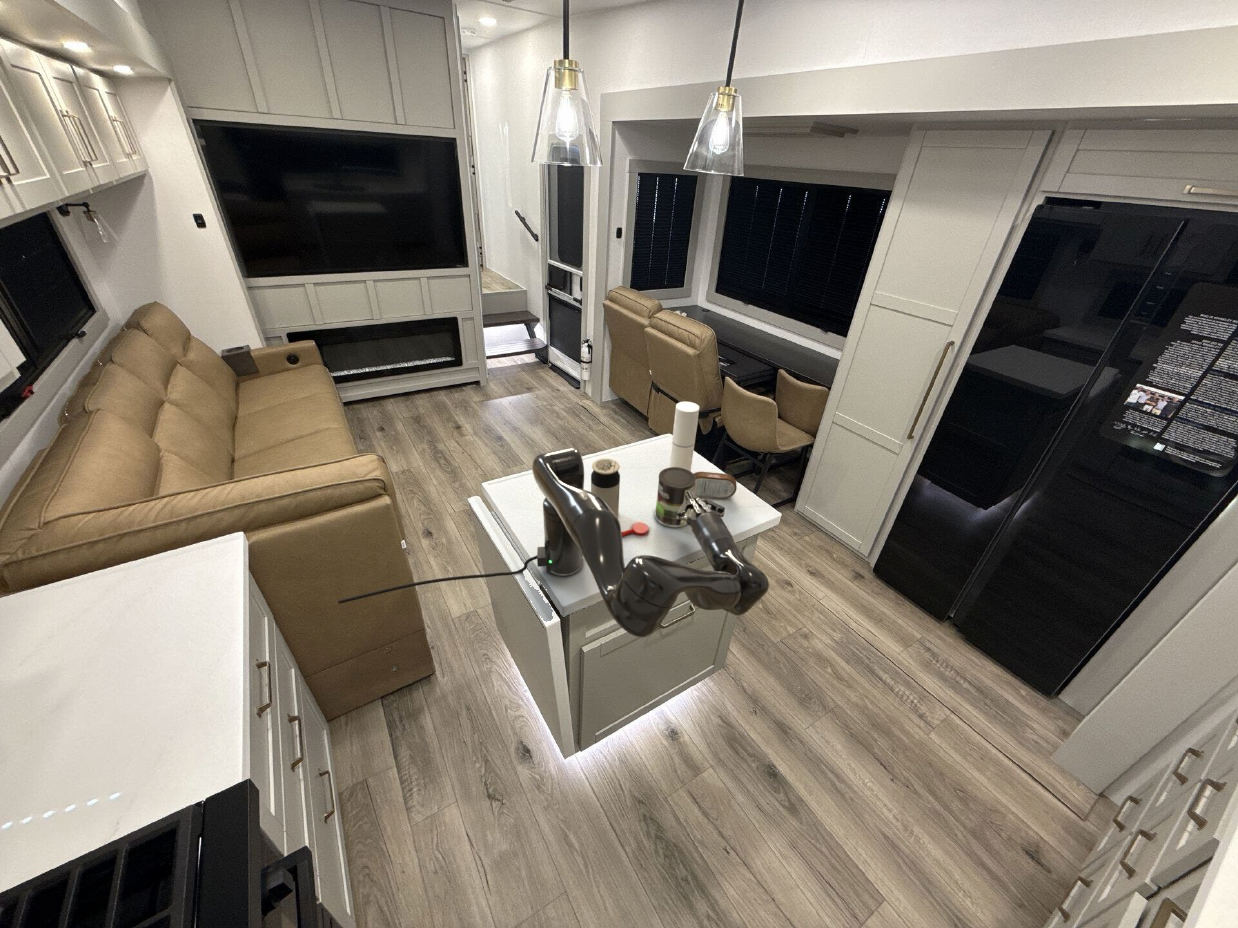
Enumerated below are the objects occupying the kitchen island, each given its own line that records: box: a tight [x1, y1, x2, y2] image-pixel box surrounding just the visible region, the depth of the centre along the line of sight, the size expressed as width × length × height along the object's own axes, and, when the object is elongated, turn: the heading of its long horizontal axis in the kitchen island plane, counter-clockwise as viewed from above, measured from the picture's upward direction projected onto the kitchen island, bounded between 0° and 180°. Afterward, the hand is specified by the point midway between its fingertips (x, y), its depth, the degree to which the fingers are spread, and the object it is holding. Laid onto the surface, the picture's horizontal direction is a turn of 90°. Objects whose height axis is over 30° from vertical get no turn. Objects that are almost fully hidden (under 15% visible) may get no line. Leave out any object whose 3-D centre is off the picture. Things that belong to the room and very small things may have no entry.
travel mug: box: [590, 458, 621, 520], centre depth 136 cm, size 8×8×18 cm
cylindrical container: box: [668, 401, 700, 472], centre depth 154 cm, size 7×7×25 cm
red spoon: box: [621, 522, 649, 537], centre depth 134 cm, size 16×5×1 cm, turn 117°
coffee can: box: [654, 467, 696, 528], centre depth 138 cm, size 10×10×14 cm
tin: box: [693, 471, 738, 500], centre depth 149 cm, size 15×3×8 cm, turn 84°
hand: (689, 493), depth 125 cm, fingers closed
